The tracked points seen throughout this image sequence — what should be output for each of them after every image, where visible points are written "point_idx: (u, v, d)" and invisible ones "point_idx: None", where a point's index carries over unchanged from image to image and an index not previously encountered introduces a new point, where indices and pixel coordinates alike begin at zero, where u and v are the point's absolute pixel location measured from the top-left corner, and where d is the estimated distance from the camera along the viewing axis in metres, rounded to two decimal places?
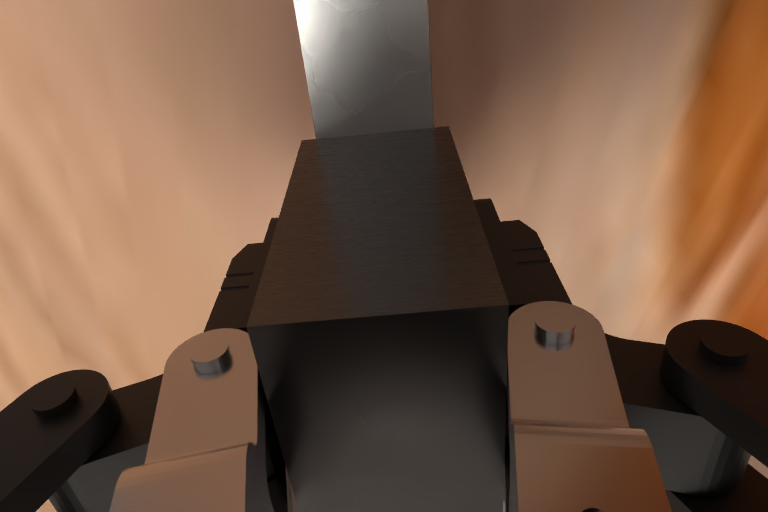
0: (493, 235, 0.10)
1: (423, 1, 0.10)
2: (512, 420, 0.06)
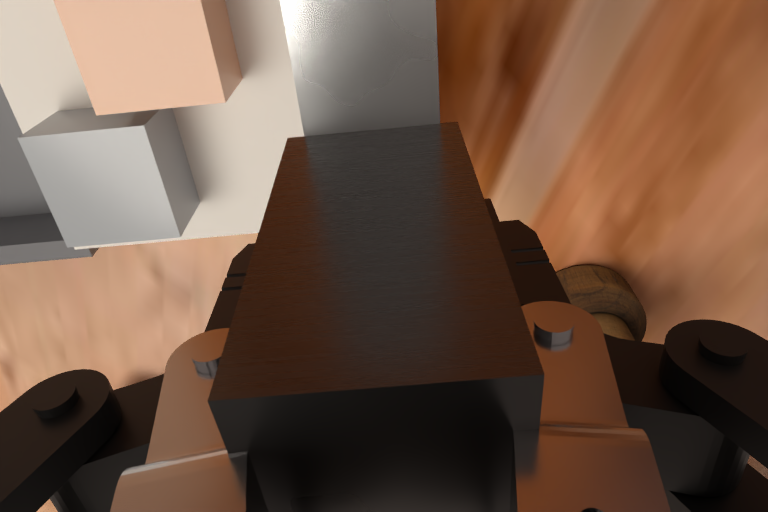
0: None
1: None
2: None
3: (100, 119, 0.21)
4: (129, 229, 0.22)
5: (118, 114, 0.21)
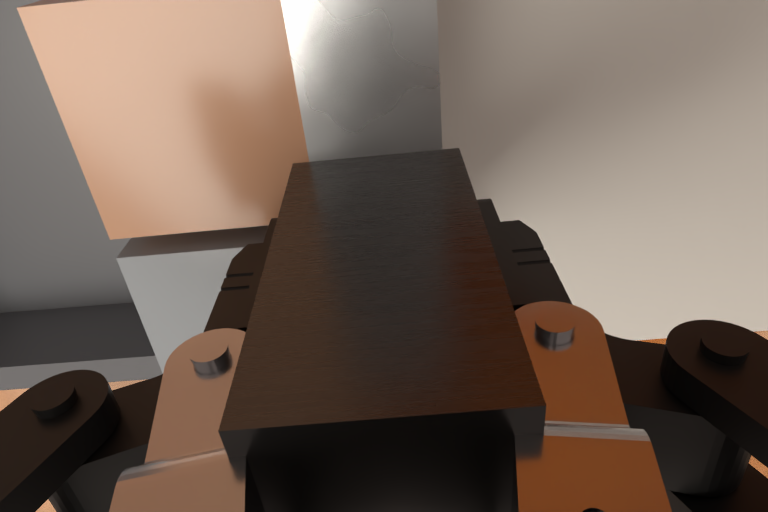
0: (493, 235, 0.10)
1: (432, 7, 0.09)
2: None
3: None
4: None
5: None
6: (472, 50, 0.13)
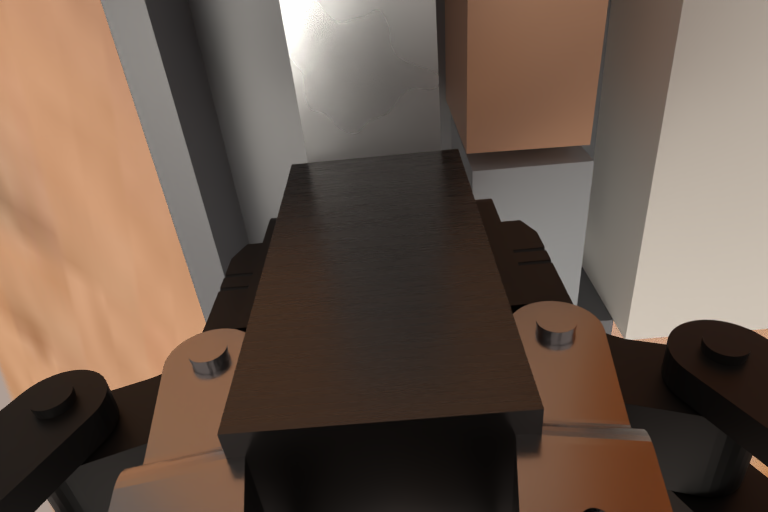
0: (494, 235, 0.10)
1: (431, 8, 0.09)
2: None
3: None
4: None
5: None
6: None
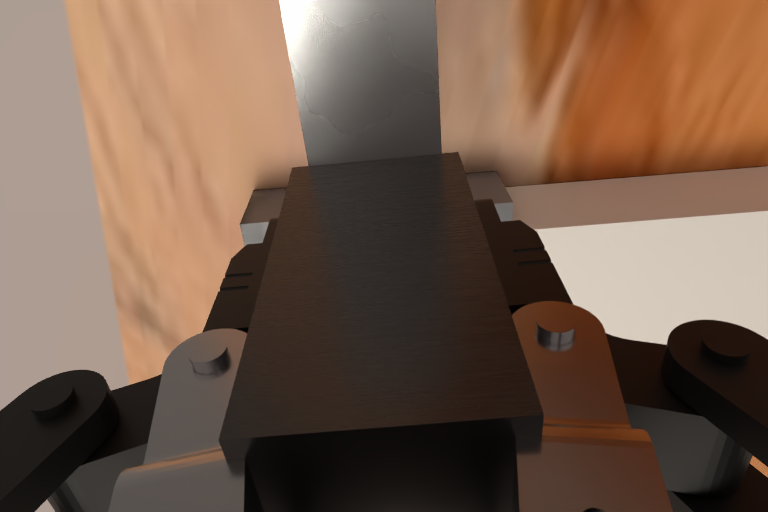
0: (494, 235, 0.10)
1: (431, 12, 0.09)
2: None
3: None
4: None
5: None
6: (636, 274, 0.28)
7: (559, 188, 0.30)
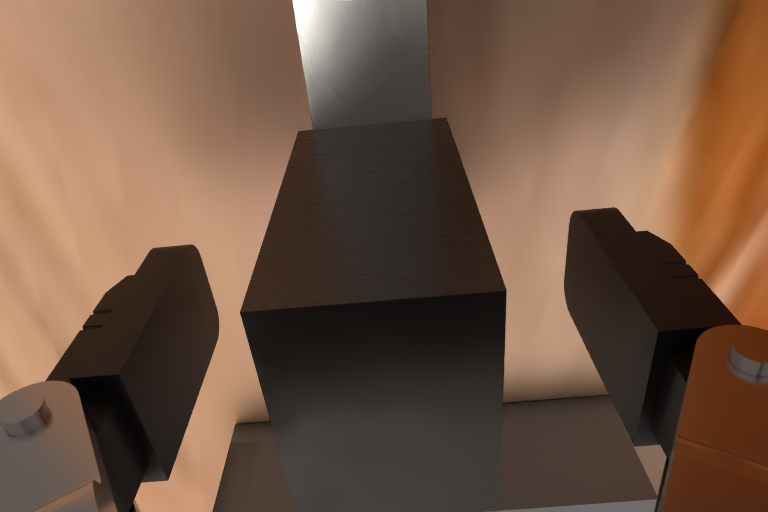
0: (635, 248, 0.09)
1: None
2: None
3: None
4: None
5: None
6: None
7: None
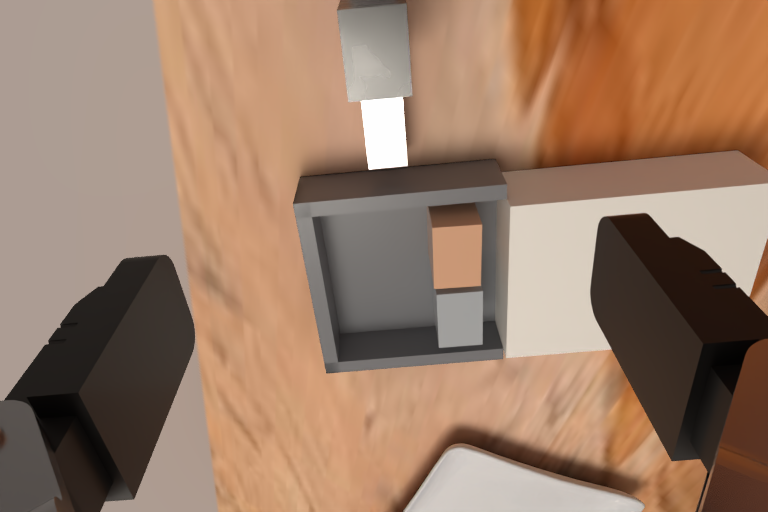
0: (671, 256, 0.09)
1: None
2: None
3: None
4: None
5: None
6: None
7: (546, 172, 0.37)
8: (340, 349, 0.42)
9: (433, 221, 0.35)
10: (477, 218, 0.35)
